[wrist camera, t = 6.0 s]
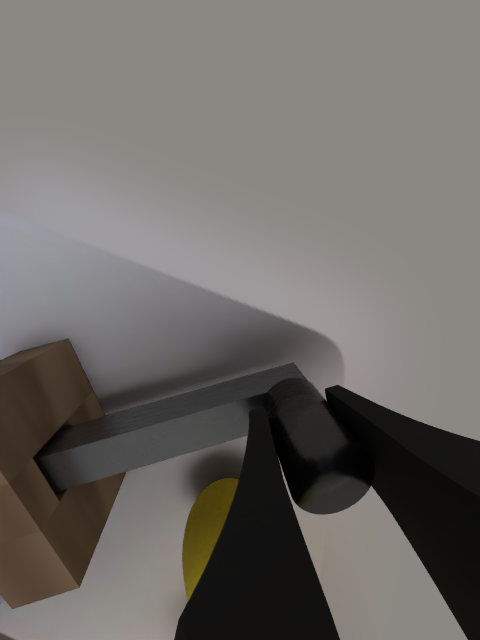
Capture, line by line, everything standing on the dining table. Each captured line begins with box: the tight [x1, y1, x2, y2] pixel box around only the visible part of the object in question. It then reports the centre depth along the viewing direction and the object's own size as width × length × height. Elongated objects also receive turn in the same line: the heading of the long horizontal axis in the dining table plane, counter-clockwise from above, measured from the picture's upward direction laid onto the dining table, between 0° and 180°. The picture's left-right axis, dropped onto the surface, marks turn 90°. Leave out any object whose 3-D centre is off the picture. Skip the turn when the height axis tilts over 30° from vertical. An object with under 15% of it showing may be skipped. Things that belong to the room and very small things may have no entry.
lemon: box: [182, 478, 239, 601], centre depth 14 cm, size 6×6×8 cm
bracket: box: [0, 339, 127, 609], centre depth 12 cm, size 3×10×6 cm, turn 14°
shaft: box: [33, 363, 375, 514], centre depth 10 cm, size 15×3×6 cm, turn 104°
